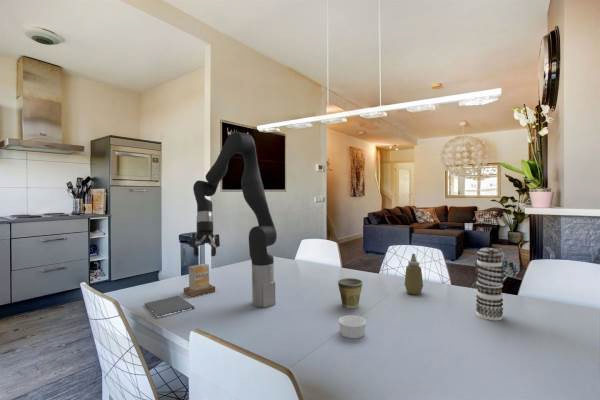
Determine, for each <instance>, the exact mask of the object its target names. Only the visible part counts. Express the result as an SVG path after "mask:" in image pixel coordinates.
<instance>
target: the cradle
mask: <svg viewBox="0 0 600 400" xmlns="http://www.w3.org/2000/svg"><path fill="white" fill-rule="evenodd" d="M184 293H185V294H184ZM208 293H209V294H212V293H213V294H214V293H216V286H214V285H212V284H210V283H209V288H204V289H200V290H196V291H191V290H189V286H187V287H183V294H184V295H186V294H187V295H188V296H187V295H186V296H187V297H189V296H190V297H193V298H196V297H195V296H197V297H200V296H199V295H201V296H204V295H203V294H205V295H208ZM190 297H189V298H190Z"/></svg>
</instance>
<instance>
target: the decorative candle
mask: <svg viewBox="0 0 600 400" xmlns="http://www.w3.org/2000/svg"><path fill="white" fill-rule="evenodd" d="M476 254H477V260H476V262H475V263H474V266H475V267H476V268H475V276H476V277H475V280H476V281H475V284H477V290H476V295H475V297H476V300H475V302H476V304H475V307H476V316H477V317H479V318H482V319H484V318H485V320H488V319H489V321H501V320H503V319H504V317H503V315H504V312H503V310H504V308H503V306H504V303H503V301H504V299H503V293H502V288H503V287H504V284H503V283H504V280H503V279H504V278H505V277H504V276H503V275H502V274H503V273H505V271H504V269H505V266H503V262H502V255H503V253H501V252H500V251H499V250H498V249H497V248H493V247H481V248H480V249H479V250H478V251H476Z"/></svg>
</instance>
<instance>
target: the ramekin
mask: <svg viewBox="0 0 600 400" xmlns="http://www.w3.org/2000/svg"><path fill="white" fill-rule="evenodd" d="M366 323H367V321H366V319H364V318H363V317H361V316H357V315H343V316H341V317H340V318H339V319H338V324H339V332H340V334H341V335H342V336H343V337H345V338H347V339H360V338H363V337H364V336H365V333H366Z"/></svg>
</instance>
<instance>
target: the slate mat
mask: <svg viewBox="0 0 600 400" xmlns="http://www.w3.org/2000/svg"><path fill="white" fill-rule="evenodd" d="M145 305H146V306H147V307H148V308H149V309H150V310H151V311H153V313H155V314H156V315H157V316H162V315H165V314H169V313H174V312H178V311H182V310H187V309H190V308H194V309H195V305H193V304H192V303H190V302H188V301H187V300H186V299H184V298H183V297H181V296H180V295H175V296H170V297H166V298H162V299H157V300H153V301H149V302H145V303H144V306H145ZM146 306H145V307H146ZM147 307H146V308H147ZM148 308H147V309H148ZM149 309H148V310H149ZM150 310H149V311H150ZM151 311H150V312H151ZM187 311H188V310H187ZM153 313H152V314H153Z"/></svg>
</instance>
